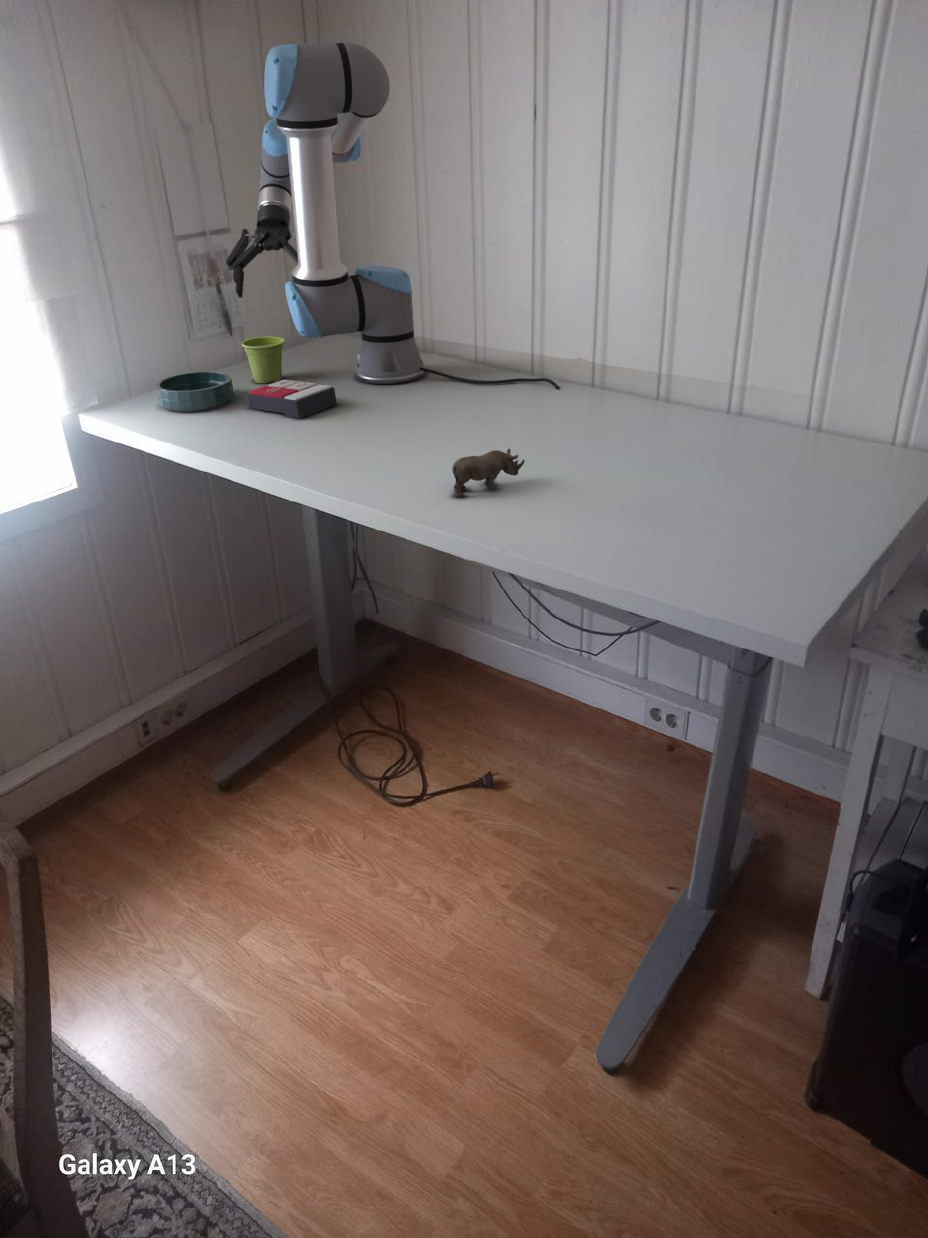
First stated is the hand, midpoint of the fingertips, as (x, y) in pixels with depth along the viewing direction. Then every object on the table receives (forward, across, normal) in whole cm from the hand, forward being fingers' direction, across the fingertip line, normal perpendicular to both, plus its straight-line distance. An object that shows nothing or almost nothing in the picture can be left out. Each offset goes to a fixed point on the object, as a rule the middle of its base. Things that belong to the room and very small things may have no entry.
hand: (268, 293), depth 219 cm
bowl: (+30, +12, +7) cm, 33 cm away
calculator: (+34, -10, +10) cm, 37 cm away
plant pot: (+20, 0, -5) cm, 20 cm away
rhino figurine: (+67, -52, +43) cm, 95 cm away
